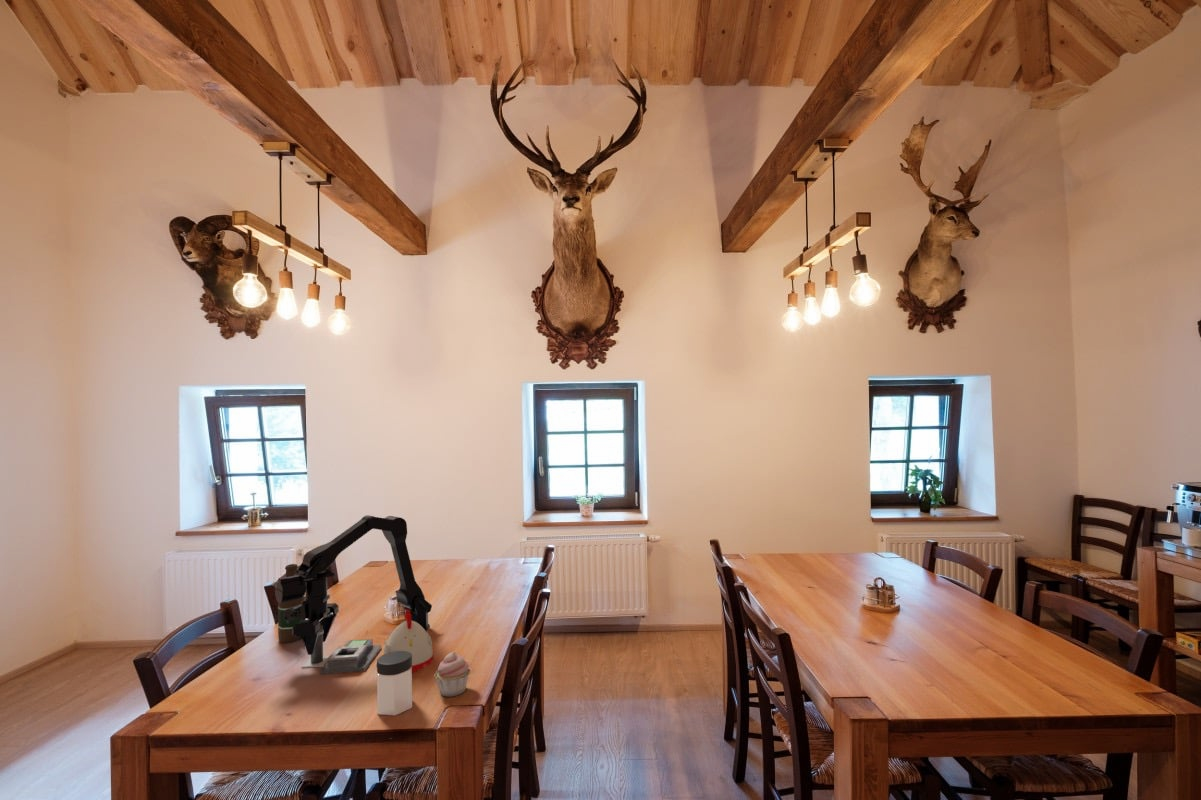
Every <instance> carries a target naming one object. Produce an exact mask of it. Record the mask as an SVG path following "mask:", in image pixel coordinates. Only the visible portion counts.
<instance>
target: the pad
mask: <svg viewBox="0 0 1201 800" xmlns="http://www.w3.org/2000/svg"><path fill="white" fill-rule="evenodd" d="M328 657H329V656H323V661H322V662H320V663H317V664H312V663H311V657H310V658H309V659H308V660H307V661H306V662H305V663H303V665H302V666H301V669H307V668H321V667H322V668H323V667H324V666H325V665H326V664H327V662H328Z"/></svg>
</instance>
